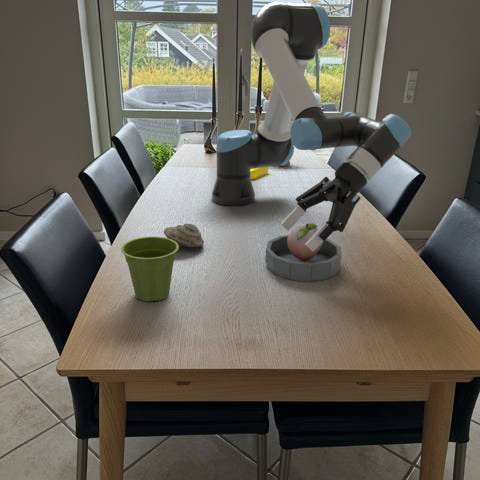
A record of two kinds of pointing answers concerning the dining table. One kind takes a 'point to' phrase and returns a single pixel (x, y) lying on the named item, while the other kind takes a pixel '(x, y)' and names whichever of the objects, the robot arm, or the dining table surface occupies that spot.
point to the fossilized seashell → (185, 235)
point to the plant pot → (150, 266)
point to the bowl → (299, 270)
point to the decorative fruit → (302, 241)
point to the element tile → (258, 172)
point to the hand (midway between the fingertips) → (295, 237)
